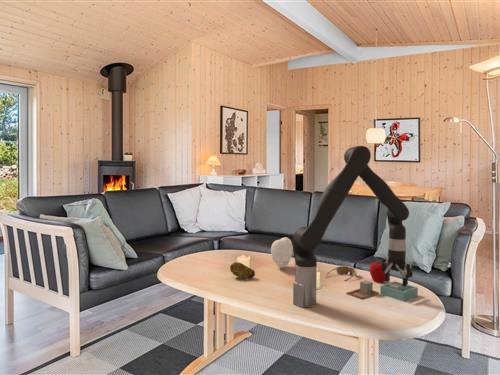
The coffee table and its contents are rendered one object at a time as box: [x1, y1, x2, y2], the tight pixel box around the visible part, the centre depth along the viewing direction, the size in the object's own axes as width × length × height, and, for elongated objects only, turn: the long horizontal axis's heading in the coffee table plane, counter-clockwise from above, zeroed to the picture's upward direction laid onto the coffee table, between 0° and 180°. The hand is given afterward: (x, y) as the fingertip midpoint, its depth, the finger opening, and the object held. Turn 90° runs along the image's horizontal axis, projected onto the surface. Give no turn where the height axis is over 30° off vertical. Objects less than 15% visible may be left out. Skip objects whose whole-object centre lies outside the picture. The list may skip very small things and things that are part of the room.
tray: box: [345, 288, 380, 300], centre depth 180 cm, size 13×9×1 cm
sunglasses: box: [325, 265, 357, 282], centre depth 207 cm, size 14×15×5 cm
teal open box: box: [379, 280, 419, 302], centre depth 178 cm, size 12×12×4 cm
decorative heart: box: [270, 236, 294, 271], centre depth 225 cm, size 18×11×17 cm, turn 149°
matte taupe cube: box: [389, 283, 402, 291], centre depth 177 cm, size 4×4×5 cm
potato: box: [229, 261, 256, 280], centre depth 206 cm, size 8×13×8 cm, turn 59°
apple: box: [369, 261, 389, 284], centre depth 199 cm, size 10×10×11 cm
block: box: [359, 280, 373, 295], centre depth 181 cm, size 4×4×5 cm
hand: (396, 283), depth 176 cm, fingers open, 8 cm apart
